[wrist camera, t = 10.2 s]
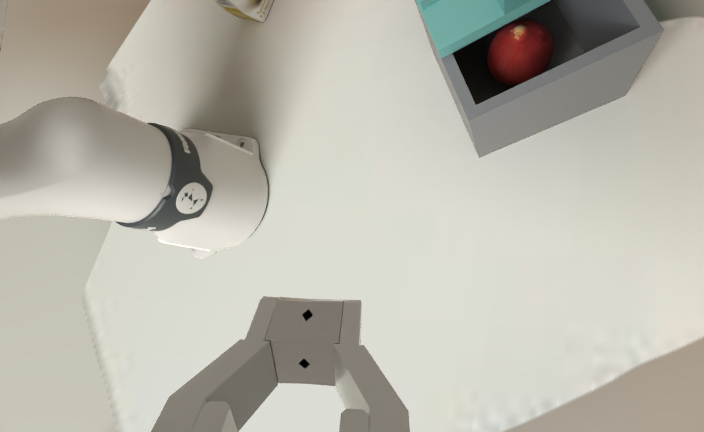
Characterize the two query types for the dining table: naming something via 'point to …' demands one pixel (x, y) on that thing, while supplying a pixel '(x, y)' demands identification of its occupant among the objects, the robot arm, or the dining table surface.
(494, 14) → the lid
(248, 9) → the juice carton
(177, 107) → the dining table surface
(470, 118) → the tub
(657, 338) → the dining table surface
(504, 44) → the onion
